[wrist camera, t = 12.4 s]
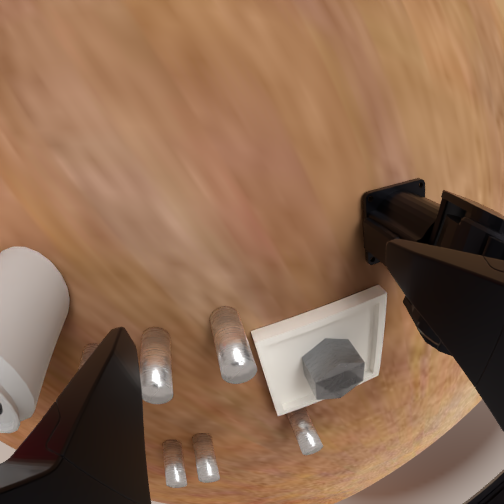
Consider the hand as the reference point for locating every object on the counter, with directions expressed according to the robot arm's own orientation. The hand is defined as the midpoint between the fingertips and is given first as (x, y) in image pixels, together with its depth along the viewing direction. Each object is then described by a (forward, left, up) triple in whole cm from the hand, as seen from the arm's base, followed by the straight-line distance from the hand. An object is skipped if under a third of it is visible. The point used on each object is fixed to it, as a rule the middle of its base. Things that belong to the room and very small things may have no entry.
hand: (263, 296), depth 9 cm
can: (+16, +2, -12) cm, 20 cm away
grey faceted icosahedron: (-6, +18, -11) cm, 23 cm away
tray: (-6, +18, -12) cm, 23 cm away
